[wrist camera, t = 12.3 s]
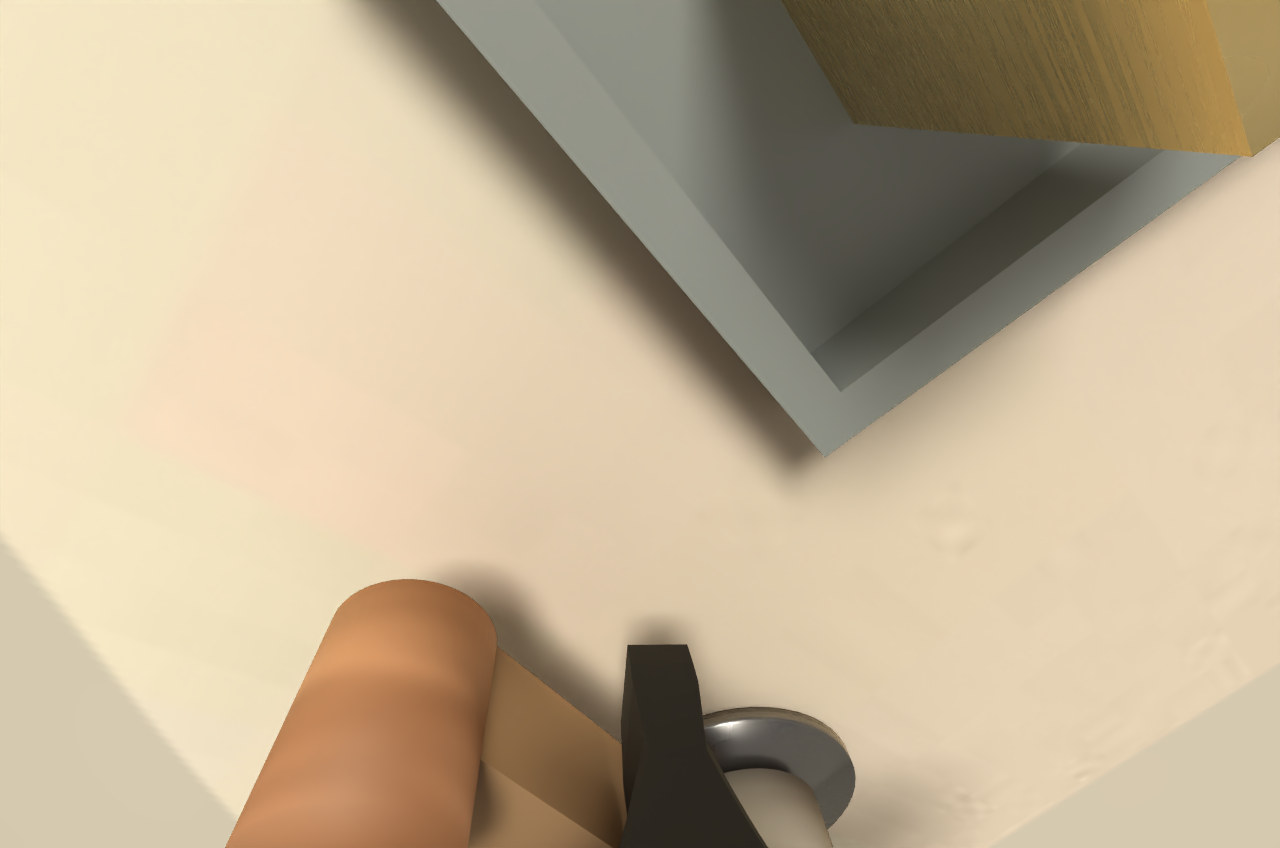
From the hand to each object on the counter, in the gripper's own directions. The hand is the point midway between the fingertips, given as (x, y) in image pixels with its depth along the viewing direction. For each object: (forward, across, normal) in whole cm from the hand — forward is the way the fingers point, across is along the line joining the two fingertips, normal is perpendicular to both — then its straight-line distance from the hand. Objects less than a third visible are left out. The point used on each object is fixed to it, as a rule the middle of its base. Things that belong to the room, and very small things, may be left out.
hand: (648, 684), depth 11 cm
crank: (+2, 0, +3) cm, 4 cm away
